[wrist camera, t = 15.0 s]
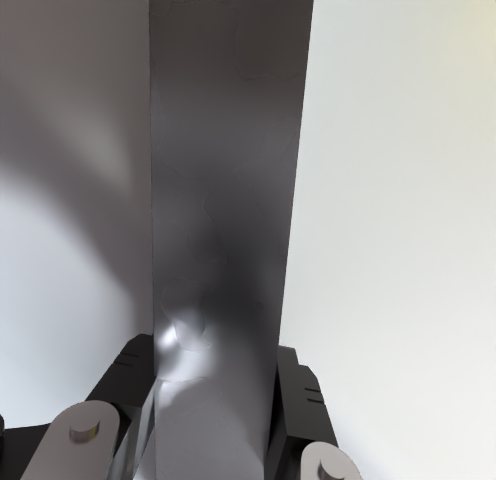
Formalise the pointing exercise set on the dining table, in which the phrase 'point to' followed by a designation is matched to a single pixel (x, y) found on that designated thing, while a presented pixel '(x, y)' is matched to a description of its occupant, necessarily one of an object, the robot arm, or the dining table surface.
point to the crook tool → (221, 223)
